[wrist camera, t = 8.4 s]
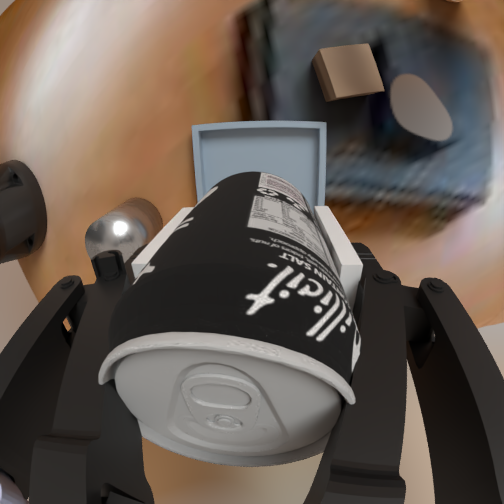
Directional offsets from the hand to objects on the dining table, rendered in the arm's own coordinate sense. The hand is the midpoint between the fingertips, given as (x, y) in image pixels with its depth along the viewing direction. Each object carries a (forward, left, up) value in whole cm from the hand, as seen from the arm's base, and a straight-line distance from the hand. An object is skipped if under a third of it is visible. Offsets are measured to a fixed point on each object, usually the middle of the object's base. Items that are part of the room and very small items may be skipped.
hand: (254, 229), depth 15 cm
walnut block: (+8, +11, -13) cm, 19 cm away
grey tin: (-14, -4, -13) cm, 19 cm away
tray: (0, 0, -13) cm, 13 cm away
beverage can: (0, 0, -1) cm, 1 cm away
